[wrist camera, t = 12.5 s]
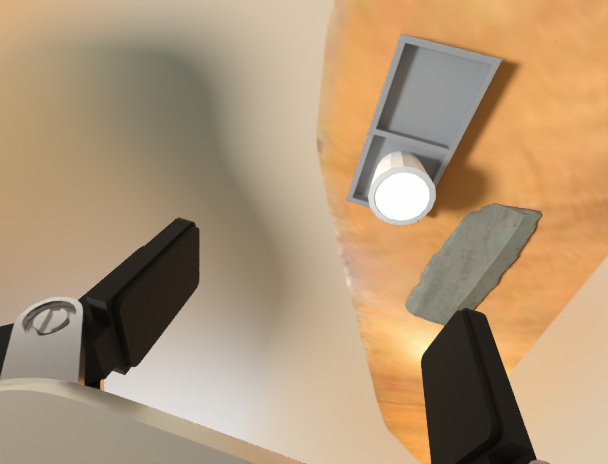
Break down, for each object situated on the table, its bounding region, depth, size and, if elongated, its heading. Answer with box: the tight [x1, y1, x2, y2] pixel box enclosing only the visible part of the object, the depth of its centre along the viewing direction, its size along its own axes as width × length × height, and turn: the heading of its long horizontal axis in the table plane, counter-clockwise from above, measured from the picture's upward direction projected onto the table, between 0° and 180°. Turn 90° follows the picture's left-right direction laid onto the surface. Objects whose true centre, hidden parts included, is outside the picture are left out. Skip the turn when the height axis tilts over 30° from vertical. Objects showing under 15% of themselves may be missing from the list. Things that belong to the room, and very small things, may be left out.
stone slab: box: [406, 203, 541, 325], centre depth 43 cm, size 22×3×10 cm
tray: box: [347, 34, 502, 222], centre depth 35 cm, size 10×19×2 cm, turn 168°
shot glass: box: [368, 151, 436, 225], centre depth 34 cm, size 7×7×7 cm
